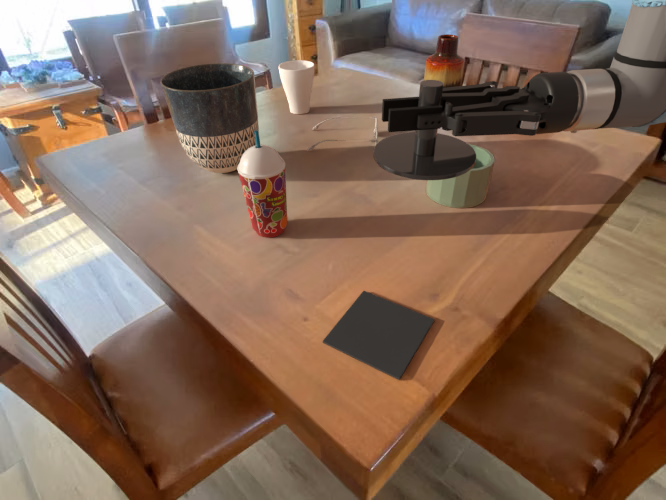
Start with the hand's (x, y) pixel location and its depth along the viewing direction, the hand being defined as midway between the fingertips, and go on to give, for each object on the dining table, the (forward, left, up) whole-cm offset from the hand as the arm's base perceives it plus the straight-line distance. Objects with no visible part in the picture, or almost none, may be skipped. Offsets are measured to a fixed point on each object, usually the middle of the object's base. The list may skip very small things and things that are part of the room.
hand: (386, 115), depth 54 cm
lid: (-4, -3, -6) cm, 8 cm away
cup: (+56, -56, -28) cm, 84 cm away
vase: (+19, -77, -28) cm, 84 cm away
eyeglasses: (+33, -44, -28) cm, 62 cm away
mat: (-6, +10, -28) cm, 30 cm away
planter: (+50, -17, -28) cm, 60 cm away
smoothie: (+24, -2, -28) cm, 37 cm away
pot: (-2, -33, -28) cm, 43 cm away
